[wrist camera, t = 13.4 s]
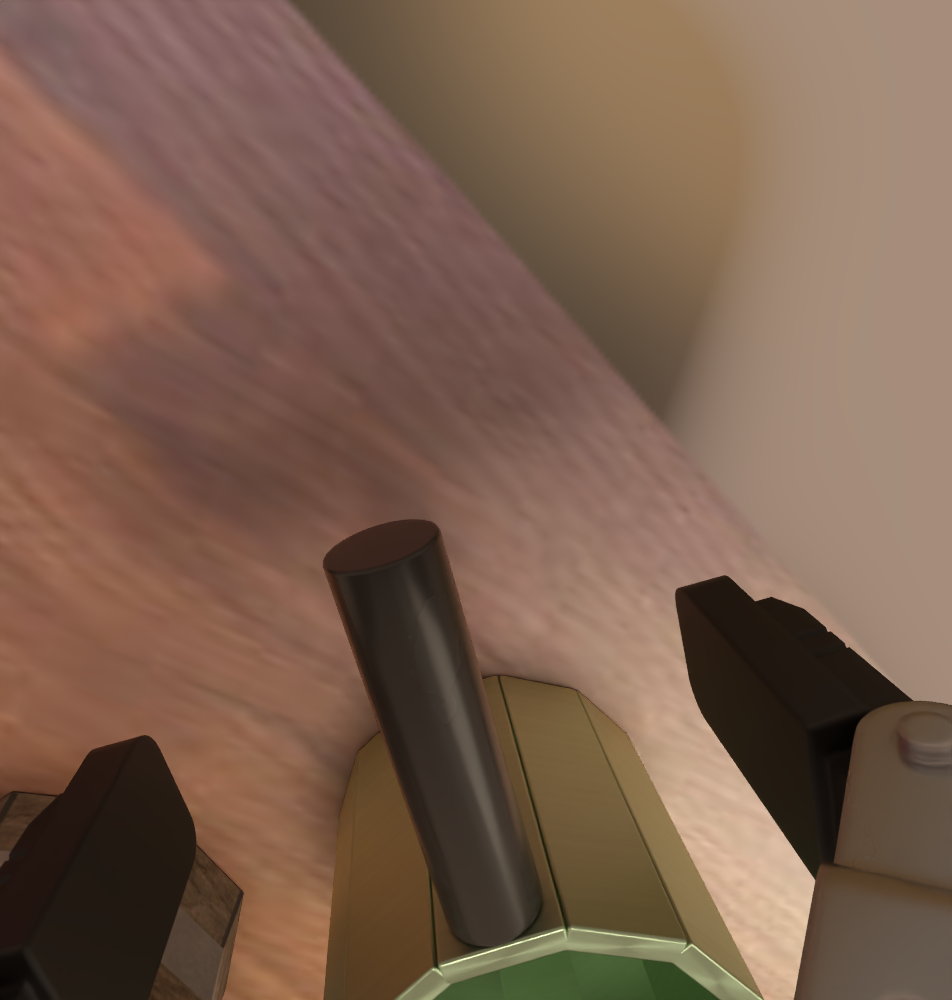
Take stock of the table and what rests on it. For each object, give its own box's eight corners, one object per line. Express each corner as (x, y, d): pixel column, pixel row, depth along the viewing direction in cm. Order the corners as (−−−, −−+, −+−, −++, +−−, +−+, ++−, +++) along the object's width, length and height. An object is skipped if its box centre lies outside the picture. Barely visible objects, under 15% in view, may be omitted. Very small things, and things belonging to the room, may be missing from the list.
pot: (207, 483, 20) (68, 652, 11) (554, 389, 20) (682, 483, 11) (391, 957, 25) (394, 1311, 17) (659, 878, 26) (797, 1185, 17)
